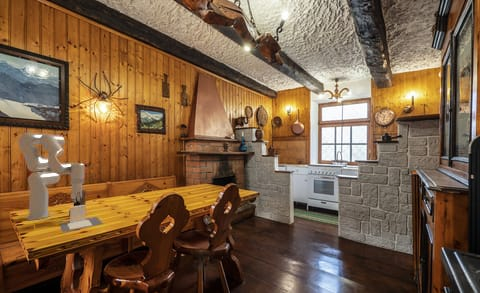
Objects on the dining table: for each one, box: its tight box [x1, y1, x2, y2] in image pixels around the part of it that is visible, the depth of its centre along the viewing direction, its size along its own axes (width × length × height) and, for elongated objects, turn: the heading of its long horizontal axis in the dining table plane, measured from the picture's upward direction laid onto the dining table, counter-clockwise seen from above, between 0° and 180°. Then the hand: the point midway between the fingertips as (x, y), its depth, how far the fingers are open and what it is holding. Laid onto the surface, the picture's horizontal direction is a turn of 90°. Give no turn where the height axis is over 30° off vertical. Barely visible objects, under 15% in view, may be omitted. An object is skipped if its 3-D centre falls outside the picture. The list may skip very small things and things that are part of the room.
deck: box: [69, 205, 87, 223], centre depth 138 cm, size 2×8×10 cm, turn 135°
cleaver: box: [68, 189, 87, 218], centre depth 152 cm, size 9×4×18 cm, turn 132°
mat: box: [59, 216, 104, 233], centre depth 134 cm, size 20×20×1 cm
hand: (76, 208), depth 143 cm, fingers closed
